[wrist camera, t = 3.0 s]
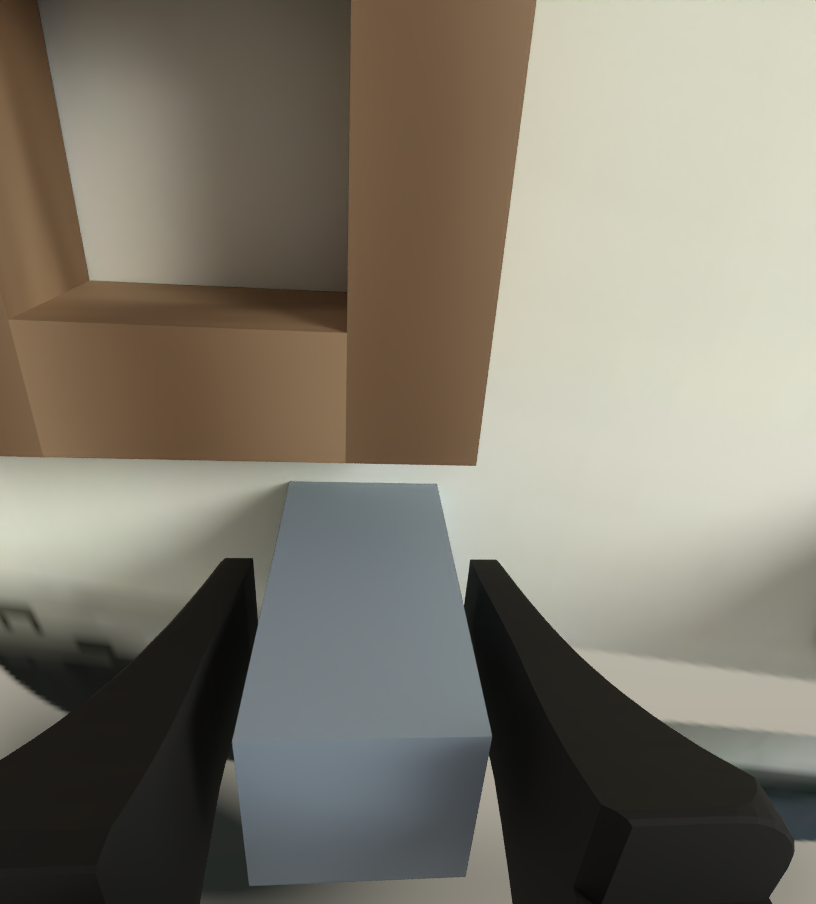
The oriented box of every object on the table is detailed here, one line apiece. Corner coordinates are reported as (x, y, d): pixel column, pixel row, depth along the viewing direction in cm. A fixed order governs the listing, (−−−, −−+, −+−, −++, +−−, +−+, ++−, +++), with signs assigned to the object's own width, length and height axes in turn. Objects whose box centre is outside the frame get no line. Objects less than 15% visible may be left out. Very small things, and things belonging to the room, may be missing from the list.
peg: (437, 483, 14) (492, 736, 8) (426, 596, 16) (465, 877, 10) (290, 481, 14) (232, 741, 8) (294, 596, 16) (249, 885, 10)
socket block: (516, -208, 9) (583, -362, 6) (453, 402, 13) (476, 465, 11) (-201, -297, 8) (-486, -524, 5) (-7, 389, 12) (-106, 453, 10)
